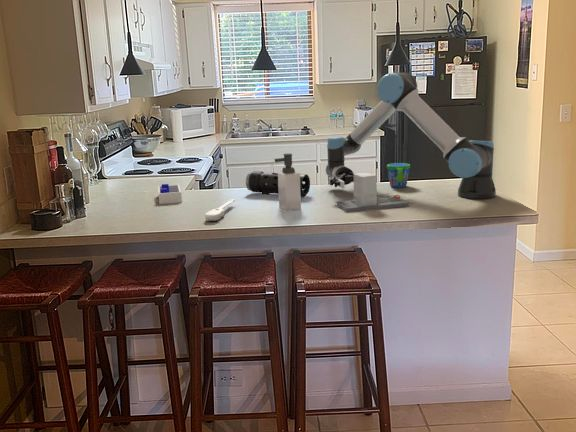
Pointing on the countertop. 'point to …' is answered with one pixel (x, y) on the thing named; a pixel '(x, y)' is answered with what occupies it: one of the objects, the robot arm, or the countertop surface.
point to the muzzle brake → (272, 183)
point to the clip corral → (170, 195)
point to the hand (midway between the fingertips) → (359, 183)
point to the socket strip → (381, 204)
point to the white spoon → (217, 212)
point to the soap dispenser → (288, 185)
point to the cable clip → (164, 188)
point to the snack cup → (398, 174)
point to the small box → (365, 189)
